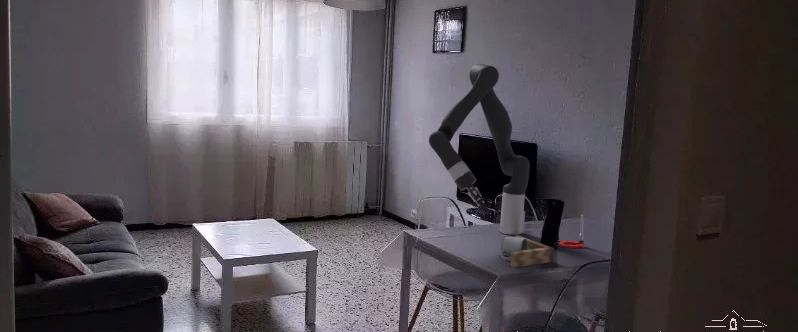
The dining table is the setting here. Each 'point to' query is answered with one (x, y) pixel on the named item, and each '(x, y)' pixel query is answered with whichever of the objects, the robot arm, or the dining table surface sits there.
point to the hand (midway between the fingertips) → (487, 212)
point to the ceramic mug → (512, 246)
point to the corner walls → (532, 254)
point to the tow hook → (578, 244)
